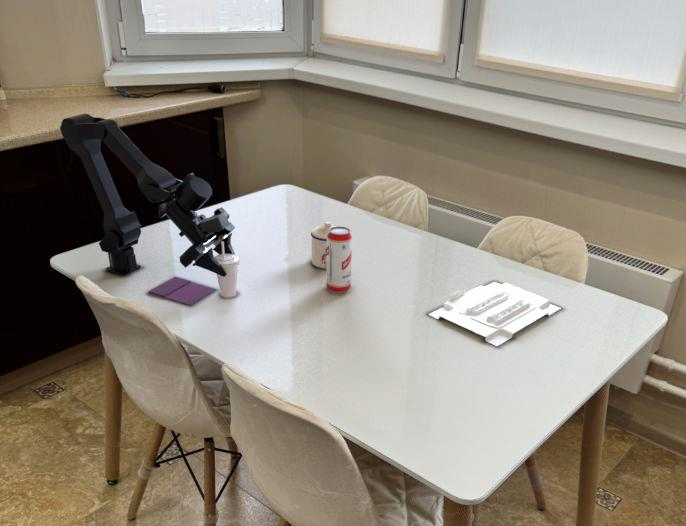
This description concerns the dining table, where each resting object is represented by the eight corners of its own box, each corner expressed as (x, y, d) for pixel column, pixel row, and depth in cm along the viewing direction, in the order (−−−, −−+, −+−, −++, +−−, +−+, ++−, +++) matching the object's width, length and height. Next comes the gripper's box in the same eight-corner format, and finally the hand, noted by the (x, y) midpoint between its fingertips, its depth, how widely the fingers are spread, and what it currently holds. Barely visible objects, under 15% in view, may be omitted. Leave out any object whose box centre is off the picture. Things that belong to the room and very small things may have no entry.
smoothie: (216, 288, 175) (212, 236, 168) (242, 288, 176) (239, 236, 168) (214, 300, 170) (210, 247, 163) (240, 300, 171) (237, 247, 163)
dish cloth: (148, 292, 172) (148, 291, 172) (175, 278, 180) (175, 276, 179) (190, 305, 167) (190, 303, 167) (215, 290, 175) (215, 288, 175)
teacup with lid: (322, 272, 186) (322, 231, 180) (304, 260, 192) (304, 220, 186) (358, 263, 192) (360, 223, 186) (340, 251, 198) (341, 212, 192)
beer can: (353, 286, 180) (356, 227, 171) (345, 296, 175) (347, 236, 166) (331, 282, 181) (332, 224, 173) (322, 292, 176) (323, 232, 168)
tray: (561, 308, 174) (564, 294, 172) (497, 350, 157) (499, 336, 155) (494, 281, 186) (495, 268, 183) (427, 318, 169) (428, 305, 167)
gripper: (186, 214, 154) (234, 267, 157) (225, 189, 169) (268, 238, 172) (159, 241, 160) (205, 292, 163) (199, 215, 175) (241, 262, 178)
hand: (231, 270), depth 169 cm, fingers closed on smoothie, 6 cm apart
